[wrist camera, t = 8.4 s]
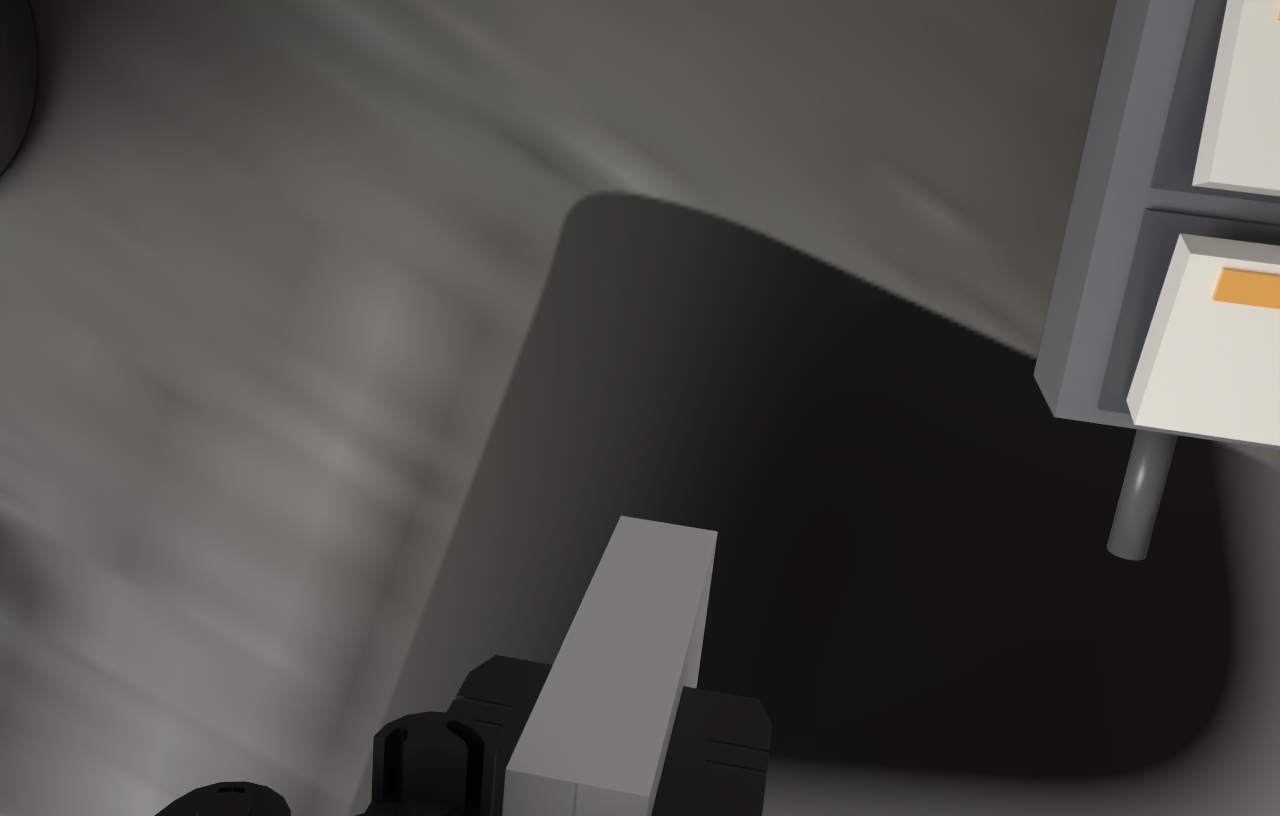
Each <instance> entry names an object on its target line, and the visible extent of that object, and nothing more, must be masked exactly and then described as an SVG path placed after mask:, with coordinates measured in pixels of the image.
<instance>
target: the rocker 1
mask: <svg viewBox="0 0 1280 816" xmlns="http://www.w3.org/2000/svg"><path fill="white" fill-rule="evenodd" d="M1192 186H1198V187H1206V188H1214V189H1223V190H1231V191H1239V192H1247V193H1255V194H1264V195H1272V196H1280V0H1227V5H1226V10H1225V15H1224V20H1223V26H1222V31H1221V36H1220V41H1219V47H1218V52H1217V57H1216V62H1215V68H1214V73H1213V78H1212V83H1211V88H1210V94H1209V99H1208V104H1207V109H1206V115H1205V120H1204V125H1203V130H1202V136H1201V141H1200V146H1199V151H1198V157H1197V162H1196V167H1195V172H1194V178H1193V183H1192Z"/></svg>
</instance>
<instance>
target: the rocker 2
mask: <svg viewBox="0 0 1280 816" xmlns="http://www.w3.org/2000/svg"><path fill="white" fill-rule="evenodd" d="M1126 401H1127V404H1128V407H1129V410H1130V413H1131V416H1132V419H1133V422H1134V425H1140V426H1147V427H1154V428H1160V429H1167V430H1174V431H1181V432H1188V433H1195V434H1201V435H1208V436H1215V437H1222V438H1229V439H1235V440H1242V441H1249V442H1256V443H1263V444H1270V445H1276V446H1280V246H1276V245H1268V244H1260V243H1252V242H1245V241H1237V240H1229V239H1221V238H1213V237H1205V236H1197V235H1189V234H1181V233H1180V234H1179V237H1178V241H1177V244H1176V247H1175V250H1174V253H1173V256H1172V259H1171V262H1170V266H1169V269H1168V272H1167V275H1166V278H1165V281H1164V284H1163V287H1162V290H1161V294H1160V297H1159V300H1158V303H1157V306H1156V309H1155V312H1154V315H1153V319H1152V322H1151V325H1150V328H1149V331H1148V334H1147V337H1146V340H1145V343H1144V347H1143V350H1142V353H1141V356H1140V359H1139V362H1138V365H1137V368H1136V372H1135V375H1134V378H1133V381H1132V384H1131V387H1130V390H1129V393H1128V396H1127V400H1126Z"/></svg>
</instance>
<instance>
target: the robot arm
mask: <svg viewBox="0 0 1280 816" xmlns="http://www.w3.org/2000/svg"><path fill="white" fill-rule="evenodd" d="M36 85H37V47H36V37H35V31H34V25H33V20H32V15H31V11H30V7H29V3H28V0H0V174H1V173H2V172H3V171H4V169H5V168H6V167H7V166H8V164H9V163H10V161H11V160H12V158H13V157H14V155H15V153H16V151H17V150H18V148H19V146H20V144H21V142H22V140H23V137H24V135H25V133H26V130H27V127H28V124H29V121H30V118H31V114H32V110H33V105H34V100H35V94H36ZM716 538H717V532H716V531H710V530H704V529H698V528H692V527H685V526H680V525H673V524H667V523H661V522H655V521H649V520H643V519H636V518H631V517H625V516H621V517H620V519H619V522H618V524H617V526H616V528H615V530H614V533H613V535H612V537H611V539H610V541H609V544H608V546H607V548H606V550H605V552H604V555H603V557H602V559H601V561H600V563H599V566H598V568H597V570H596V572H595V574H594V577H593V579H592V581H591V583H590V585H589V588H588V590H587V592H586V594H585V596H584V598H583V601H582V603H581V605H580V607H579V609H578V612H577V614H576V616H575V618H574V620H573V623H572V625H571V627H570V629H569V632H568V634H567V636H566V638H565V640H564V642H563V645H562V647H561V649H560V651H559V653H558V656H557V658H556V660H555V662H554V664H553V665H549V664H543V663H538V662H532V661H527V660H521V659H516V658H510V657H505V656H499V655H495V656H494V657H492V658H491V659H489V660H488V661H486V662H485V663H483V664H481V665H480V666H478V667H477V668H475V669H474V670H472V671H471V672H469V674H468V676H467V677H466V679H465V681H464V683H463V685H462V686H461V688H460V690H459V691H458V693H457V695H456V699H455V700H453V702H452V704H451V705H450V707H449V709H448V710H447V712H446V713H444V712H423V713H417V714H411V715H406V716H404V717H402V718H399V719H397V720H395V721H392V722H390V723H388V724H386V725H385V726H384V727H383V728H382V729H381V730H380V731H379V732H378V733H377V734H376V735H375V736H374V743H373V774H372V801H371V803H370V805H369V806H368V808H367V810H366V812H365V813H363V814H360V815H356V816H762V811H763V801H764V793H765V784H766V774H767V766H768V756H769V747H770V738H771V730H772V729H771V728H772V724H771V722H770V720H769V718H768V716H767V714H766V712H765V711H764V709H763V707H762V705H761V703H760V701H759V700H758V699H752V698H747V697H742V696H736V695H730V694H725V693H719V692H714V691H708V690H703V689H697V688H696V686H697V679H698V678H697V677H698V671H699V663H700V656H701V649H702V642H703V634H704V627H705V620H706V612H707V605H708V597H709V590H710V583H711V575H712V568H713V561H714V552H715V545H716ZM155 816H291V810H290V808H289V806H288V805H287V803H286V801H285V799H284V797H283V796H281V795H280V794H278V793H277V792H275V791H273V790H272V789H270V788H269V787H267V786H263V785H258V784H254V783H250V782H220V783H216V784H212V785H208V786H204V787H201V788H197V789H195V790H193V791H191V792H189V793H187V794H185V795H184V796H182V797H180V798H178V799H176V800H175V801H173V802H172V803H171V804H169V805H168V806H167V807H165V808H164V809H163V810H161V811H160V812H159V813H158V814H156V815H155Z"/></svg>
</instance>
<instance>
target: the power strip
mask: <svg viewBox="0 0 1280 816" xmlns="http://www.w3.org/2000/svg"><path fill="white" fill-rule="evenodd" d="M1226 5H1227V0H1117V1H1116V6H1115V10H1114V15H1113V20H1112V24H1111V29H1110V33H1109V38H1108V42H1107V47H1106V51H1105V56H1104V60H1103V65H1102V69H1101V74H1100V78H1099V83H1098V87H1097V92H1096V96H1095V101H1094V105H1093V110H1092V114H1091V119H1090V123H1089V128H1088V132H1087V137H1086V141H1085V146H1084V150H1083V155H1082V160H1081V164H1080V169H1079V173H1078V178H1077V182H1076V187H1075V191H1074V196H1073V200H1072V205H1071V209H1070V214H1069V218H1068V223H1067V227H1066V232H1065V236H1064V241H1063V245H1062V250H1061V254H1060V259H1059V263H1058V268H1057V272H1056V277H1055V281H1054V286H1053V290H1052V295H1051V299H1050V304H1049V309H1048V313H1047V318H1046V322H1045V327H1044V331H1043V336H1042V340H1041V345H1040V349H1039V354H1038V358H1037V363H1036V367H1035V372H1034V377H1035V379H1036V381H1037V383H1038V385H1039V387H1040V389H1041V391H1042V393H1043V395H1044V397H1045V399H1046V401H1047V403H1048V405H1049V407H1050V409H1051V411H1052V413H1053V415H1054V417H1059V418H1065V419H1072V420H1079V421H1086V422H1093V423H1099V424H1106V425H1114V426H1120V427H1127V428H1134V429H1137V432H1136V436H1135V440H1134V444H1133V448H1132V452H1131V456H1130V460H1129V464H1128V467H1127V471H1126V475H1125V479H1124V483H1123V487H1122V491H1121V495H1120V499H1119V503H1118V507H1117V511H1116V514H1115V518H1114V522H1113V526H1112V530H1111V534H1110V538H1109V542H1108V546H1107V549H1108V550H1109V551H1110V552H1111V553H1112V554H1114V555H1116V556H1119V557H1121V558H1124V559H1129V560H1142V559H1144V558H1145V557H1146V553H1147V549H1148V546H1149V542H1150V538H1151V534H1152V531H1153V527H1154V523H1155V520H1156V516H1157V512H1158V508H1159V504H1160V501H1161V497H1162V493H1163V490H1164V486H1165V482H1166V478H1167V475H1168V471H1169V467H1170V463H1171V460H1172V456H1173V452H1174V449H1175V445H1176V441H1177V438H1178V435H1181V436H1188V437H1195V438H1202V439H1208V440H1215V441H1222V442H1229V443H1236V444H1242V445H1249V446H1256V447H1263V448H1270V449H1276V450H1280V446H1276V445H1270V444H1263V443H1256V442H1249V441H1242V440H1235V439H1229V438H1222V437H1215V436H1208V435H1201V434H1195V433H1188V432H1181V431H1174V430H1167V429H1160V428H1154V427H1147V426H1140V425H1134V422H1133V419H1132V416H1131V413H1130V410H1129V407H1128V404H1127V401H1126V400H1127V396H1128V393H1129V390H1130V387H1131V384H1132V381H1133V378H1134V375H1135V372H1136V368H1137V365H1138V362H1139V359H1140V356H1141V353H1142V350H1143V347H1144V343H1145V340H1146V337H1147V334H1148V331H1149V328H1150V325H1151V322H1152V319H1153V315H1154V312H1155V309H1156V306H1157V303H1158V300H1159V297H1160V294H1161V290H1162V287H1163V284H1164V281H1165V278H1166V275H1167V272H1168V269H1169V266H1170V262H1171V259H1172V256H1173V253H1174V250H1175V247H1176V244H1177V241H1178V237H1179V234H1180V233H1181V234H1189V235H1197V236H1205V237H1213V238H1221V239H1229V240H1237V241H1245V242H1252V243H1260V244H1268V245H1276V246H1280V196H1272V195H1264V194H1255V193H1247V192H1239V191H1231V190H1223V189H1214V188H1206V187H1198V186H1192V183H1193V178H1194V172H1195V167H1196V162H1197V157H1198V151H1199V146H1200V141H1201V136H1202V130H1203V125H1204V120H1205V115H1206V109H1207V104H1208V99H1209V94H1210V88H1211V83H1212V78H1213V73H1214V68H1215V62H1216V57H1217V52H1218V47H1219V41H1220V36H1221V31H1222V26H1223V20H1224V15H1225V10H1226Z"/></svg>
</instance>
